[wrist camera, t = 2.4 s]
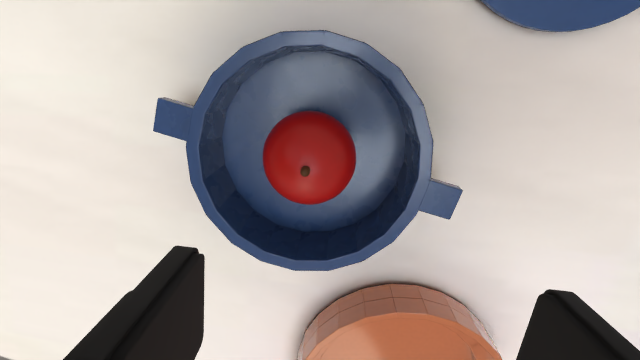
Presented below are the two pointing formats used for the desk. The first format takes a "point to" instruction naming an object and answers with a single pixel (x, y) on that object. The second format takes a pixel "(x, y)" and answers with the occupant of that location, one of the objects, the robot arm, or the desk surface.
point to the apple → (309, 157)
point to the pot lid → (561, 13)
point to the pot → (309, 95)
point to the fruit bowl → (396, 328)
